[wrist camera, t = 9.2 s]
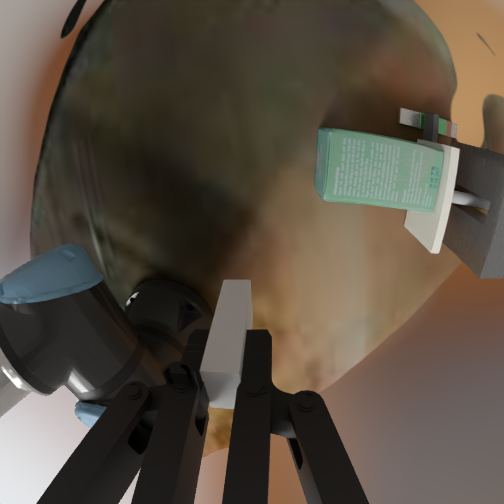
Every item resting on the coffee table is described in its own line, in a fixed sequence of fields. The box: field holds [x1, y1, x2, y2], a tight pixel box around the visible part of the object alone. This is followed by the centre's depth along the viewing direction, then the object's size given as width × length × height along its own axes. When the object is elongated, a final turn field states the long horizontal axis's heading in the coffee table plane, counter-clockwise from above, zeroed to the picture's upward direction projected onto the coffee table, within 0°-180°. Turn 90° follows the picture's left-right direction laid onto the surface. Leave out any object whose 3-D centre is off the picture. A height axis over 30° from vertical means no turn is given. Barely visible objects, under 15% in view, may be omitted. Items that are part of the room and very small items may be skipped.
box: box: [315, 128, 444, 213], centre depth 27 cm, size 7×14×8 cm, turn 89°
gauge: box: [397, 108, 504, 278], centre depth 24 cm, size 14×16×12 cm
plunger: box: [404, 113, 490, 253], centre depth 25 cm, size 13×16×8 cm
